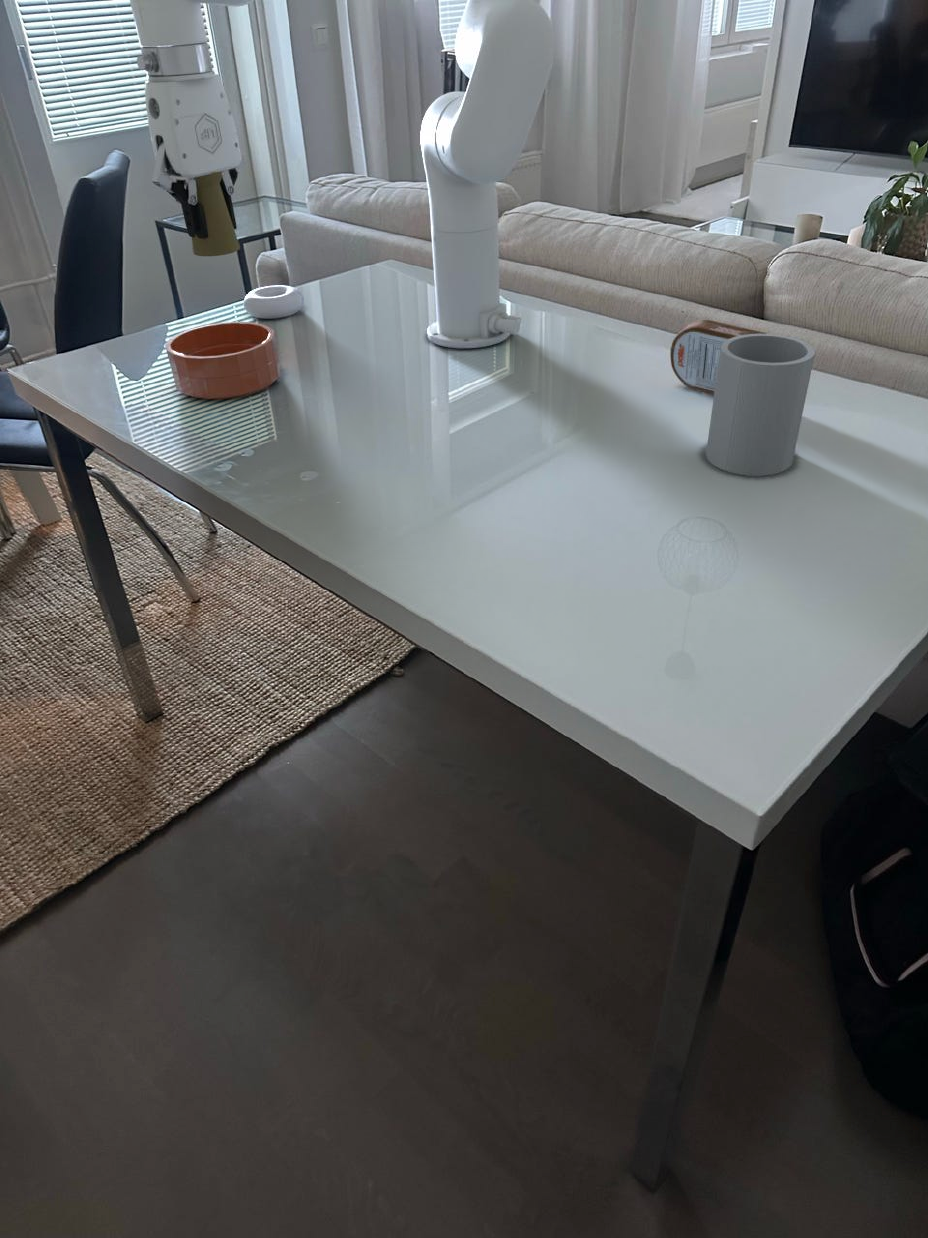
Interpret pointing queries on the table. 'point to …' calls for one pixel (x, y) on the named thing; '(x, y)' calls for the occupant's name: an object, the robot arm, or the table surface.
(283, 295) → the donut
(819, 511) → the table surface
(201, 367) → the basin
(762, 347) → the cup
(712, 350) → the tin
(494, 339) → the robot arm
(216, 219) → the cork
